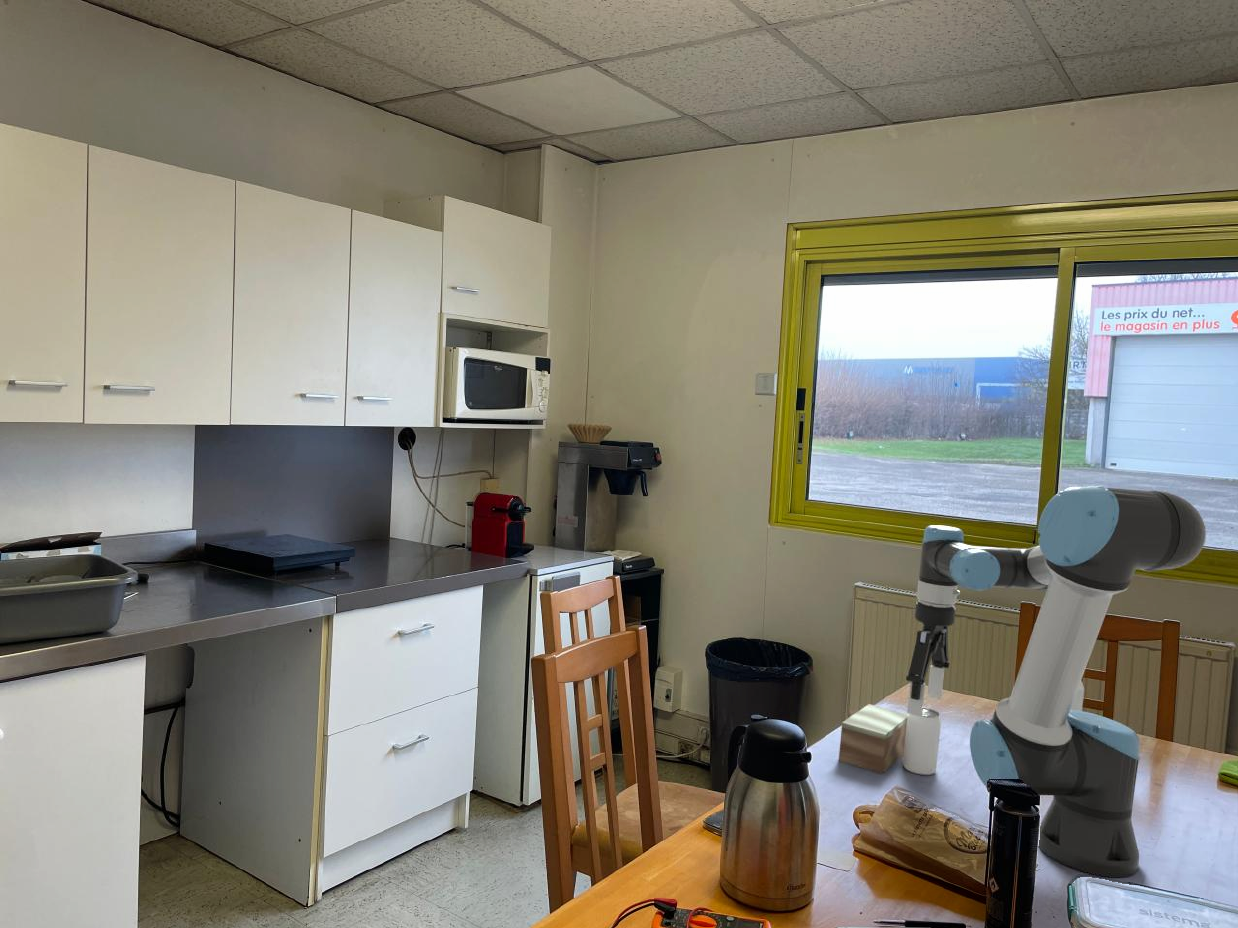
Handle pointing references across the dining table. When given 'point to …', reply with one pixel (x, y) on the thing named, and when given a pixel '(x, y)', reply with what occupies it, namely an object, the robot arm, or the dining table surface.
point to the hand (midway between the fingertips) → (924, 705)
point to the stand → (873, 738)
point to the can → (922, 742)
